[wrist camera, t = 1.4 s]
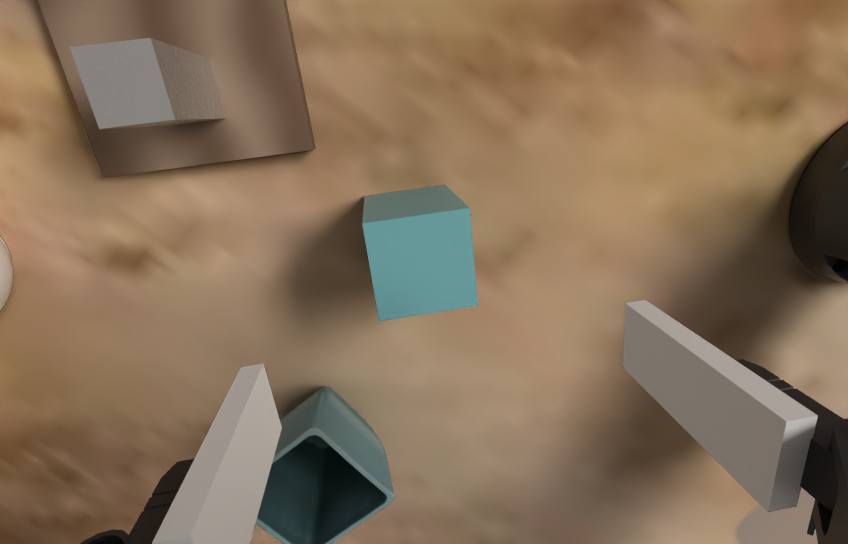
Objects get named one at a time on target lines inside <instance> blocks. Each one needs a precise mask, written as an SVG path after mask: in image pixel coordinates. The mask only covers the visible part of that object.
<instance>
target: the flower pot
mask: <svg viewBox="0 0 848 544" xmlns="http://www.w3.org/2000/svg"><path fill="white" fill-rule="evenodd" d="M280 423H281V426H282V429H281V433H280V437H279V440H278V444H277V447H276V451H275V455H274V458H273V462H272V465H271V469H270V473H269V476H268V480H267V484H266V487H265V491H264V494H263V498H262V502H261V505H260V509H259V512H258V516H257V520H256V524H257V525H259V526H260V527H262V528H263V529H264V530H266V531H267V532H269V534H271V535H273V536H274V537H275V538H277V539H278V540H279V541H280V542H282V543H283V544H333V543H334V542H335V541H337V540H338V539H339V538H341V537H342V536H344V535H345V534H347V533H348V532H350V531H351V530H352V529H354V528H355V527H356V526H358V525H360V524H361V523H362V522H364V521H365V520H367V519H369V518H370V517H372V516H373V515H375V514H376V513H378V512H379V511H381V510H382V509H384V508H385V507H386V506H388V505H389V504H390V503H391V502H392V501H393V500H394V499H395V496H394V491H393V486H392V481H391V476H390V471H389V466H388V462H387V458H386V454H385V450H384V448H383V445H382V443H381V441H380V439H379V438H378V436H377V435H376V433H375V432H374V431H373V429H372V428H371V427H370V426H369V425H368V424H367V422H366V421H365V420H364V419H363V418H362V417H361V416H360V415H359V414H357V413H356V412H355V411H354V410H353V409H352V408H351V407H350V406H349V405H348V404H347V403H346V402H345V401H344V400H343V399H342V398H340V397H339V396H338V395H337V394H336V393H335V392H334V391H333V390H332V389H331V388H329V387H322V388H321V389H319V390H318V391H316V392H315V393H314V394H313V395H311V396H310V397H309V398H307V399H306V400H305V401H304V402H302V403H301V404H300V405H298V406H297V407H296V408H294V409H293V410H292V411H290V412H289V413H288V414H286V415H285V416H284V417H282V418H281V419H280Z"/></svg>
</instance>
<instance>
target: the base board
mask: <svg viewBox="0 0 848 544" xmlns="http://www.w3.org/2000/svg"><path fill="white" fill-rule="evenodd" d="M38 3H39V5H40V8H41V11H42V13H43V16H44V19H45V21H46V24H47V27H48V30H49V32H50V35H51V38H52V40H53V43H54V46H55V48H56V51H57V54H58V57H59V59H60V62H61V65H62V67H63V70H64V73H65V75H66V78H67V81H68V83H69V86H70V89H71V92H72V94H73V97H74V100H75V102H76V105H77V108H78V110H79V113H80V116H81V119H82V121H83V124H84V127H85V129H86V132H87V135H88V137H89V140H90V143H91V145H92V148H93V151H94V154H95V156H96V159H97V162H98V164H99V167H100V170H101V172H102V175H103V178H105V177H113V176H120V175H128V174H135V173H143V172H151V171H158V170H166V169H173V168H181V167H188V166H196V165H203V164H211V163H218V162H226V161H233V160H241V159H248V158H256V157H263V156H271V155H278V154H286V153H293V152H301V151H308V150H314V149H315V143H314V138H313V133H312V128H311V123H310V118H309V113H308V108H307V103H306V98H305V93H304V88H303V83H302V78H301V73H300V68H299V63H298V58H297V53H296V48H295V43H294V38H293V33H292V28H291V23H290V18H289V13H288V8H287V3H286V0H38ZM144 38H152V39H155V40H158V41H161V42H164V43H167V44H170V45H172V46H175V47H178V48H181V49H184V50H187V51H189V52H192V53H195V54H198V55H201V56H204V57H207V58H209V59H210V61H211V65H212V68H213V72H214V76H215V80H216V84H217V87H218V91H219V95H220V99H221V103H222V106H223V110H224V114H225V119H217V120H210V121H202V122H194V123H186V124H178V125H170V126H151V127H131V128H111V129H99V127H98V124H97V121H96V119H95V116H94V113H93V110H92V108H91V105H90V102H89V99H88V96H87V94H86V91H85V88H84V85H83V83H82V80H81V77H80V74H79V71H78V69H77V66H76V63H75V60H74V58H73V55H72V52H71V49H70V47H74V46H83V45H92V44H101V43H109V42H118V41H127V40H136V39H144Z"/></svg>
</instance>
